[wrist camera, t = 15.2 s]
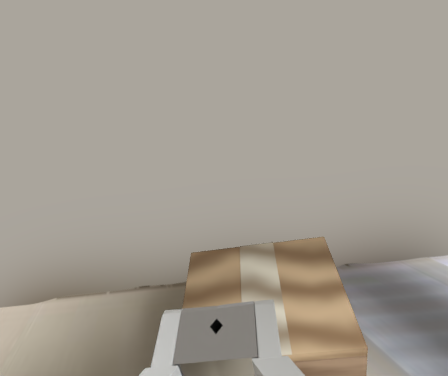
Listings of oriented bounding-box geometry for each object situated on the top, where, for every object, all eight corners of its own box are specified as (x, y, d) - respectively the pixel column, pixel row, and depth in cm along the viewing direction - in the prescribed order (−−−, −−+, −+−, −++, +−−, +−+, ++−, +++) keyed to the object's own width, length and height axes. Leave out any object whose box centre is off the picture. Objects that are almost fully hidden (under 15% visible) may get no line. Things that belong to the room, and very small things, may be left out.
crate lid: (367, 355, 34) (367, 347, 33) (175, 371, 36) (172, 364, 35) (324, 243, 49) (323, 236, 49) (192, 258, 51) (191, 252, 51)
